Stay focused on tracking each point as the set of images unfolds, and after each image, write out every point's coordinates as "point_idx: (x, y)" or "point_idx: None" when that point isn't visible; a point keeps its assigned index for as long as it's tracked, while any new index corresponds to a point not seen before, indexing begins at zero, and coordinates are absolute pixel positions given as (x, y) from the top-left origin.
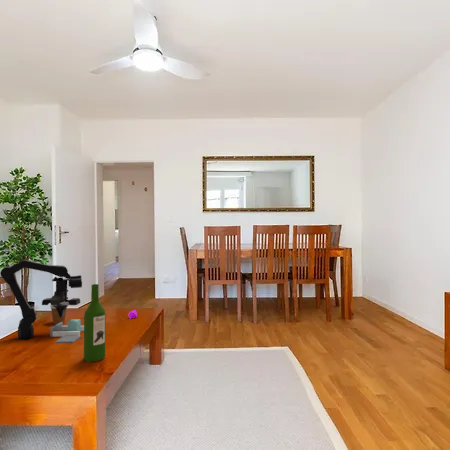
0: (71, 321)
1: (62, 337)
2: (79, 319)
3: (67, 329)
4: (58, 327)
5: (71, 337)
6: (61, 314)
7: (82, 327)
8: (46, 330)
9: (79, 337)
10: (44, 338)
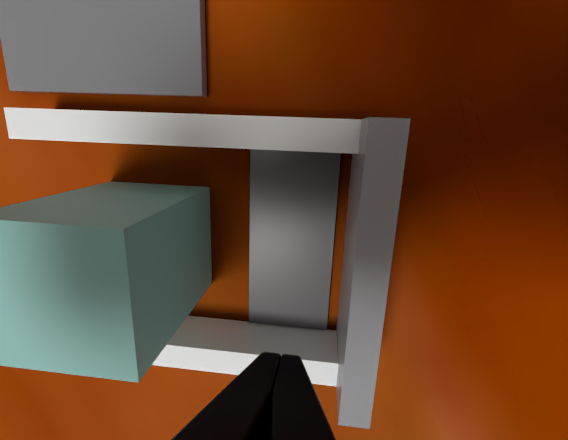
0: (64, 248)
1: (188, 23)
2: (8, 361)
3: (184, 197)
4: (346, 292)
5: (79, 23)
6: (235, 397)
7: None
8: (518, 360)
9: (7, 47)
10: (428, 40)
